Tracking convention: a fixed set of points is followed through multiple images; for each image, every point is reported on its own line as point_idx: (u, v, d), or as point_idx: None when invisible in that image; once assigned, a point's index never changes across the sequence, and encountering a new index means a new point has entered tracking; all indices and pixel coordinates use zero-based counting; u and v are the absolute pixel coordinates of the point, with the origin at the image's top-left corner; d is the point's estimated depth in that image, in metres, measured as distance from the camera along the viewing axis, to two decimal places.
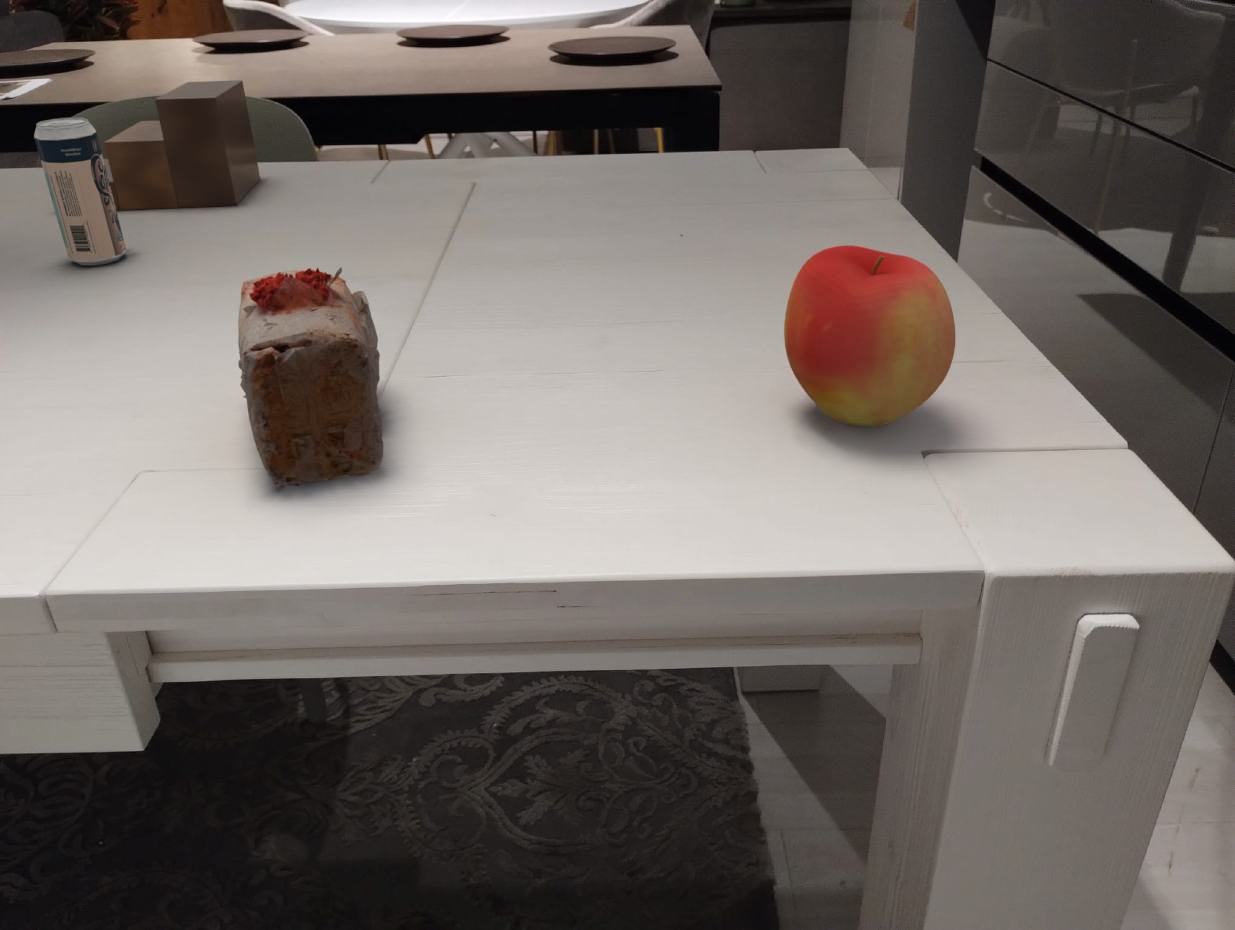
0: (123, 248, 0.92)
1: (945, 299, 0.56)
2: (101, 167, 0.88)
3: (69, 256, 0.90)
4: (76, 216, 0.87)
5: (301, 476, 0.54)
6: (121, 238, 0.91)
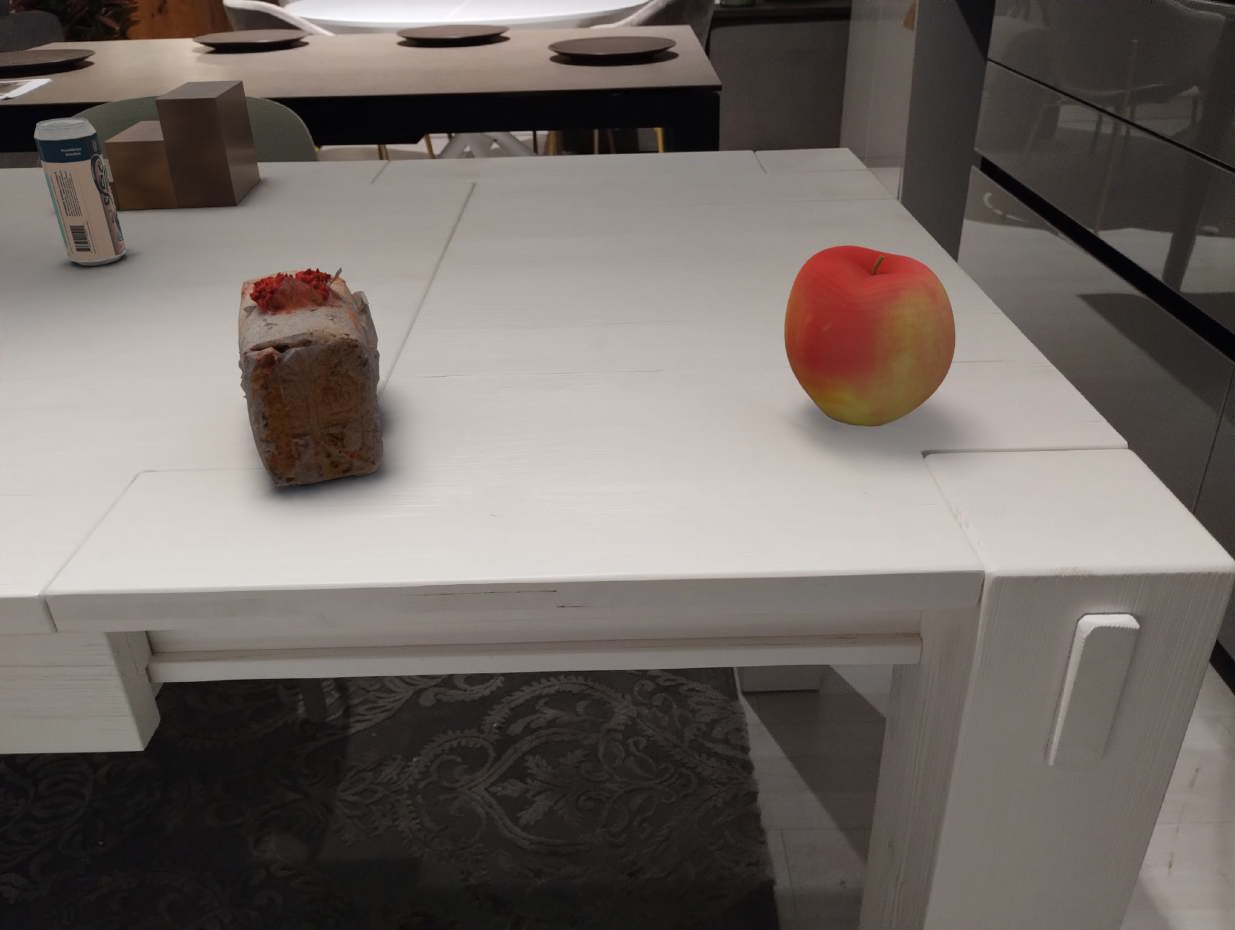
0: (123, 248, 0.92)
1: (945, 299, 0.56)
2: (101, 167, 0.88)
3: (69, 256, 0.90)
4: (76, 216, 0.87)
5: (301, 476, 0.54)
6: (121, 238, 0.91)
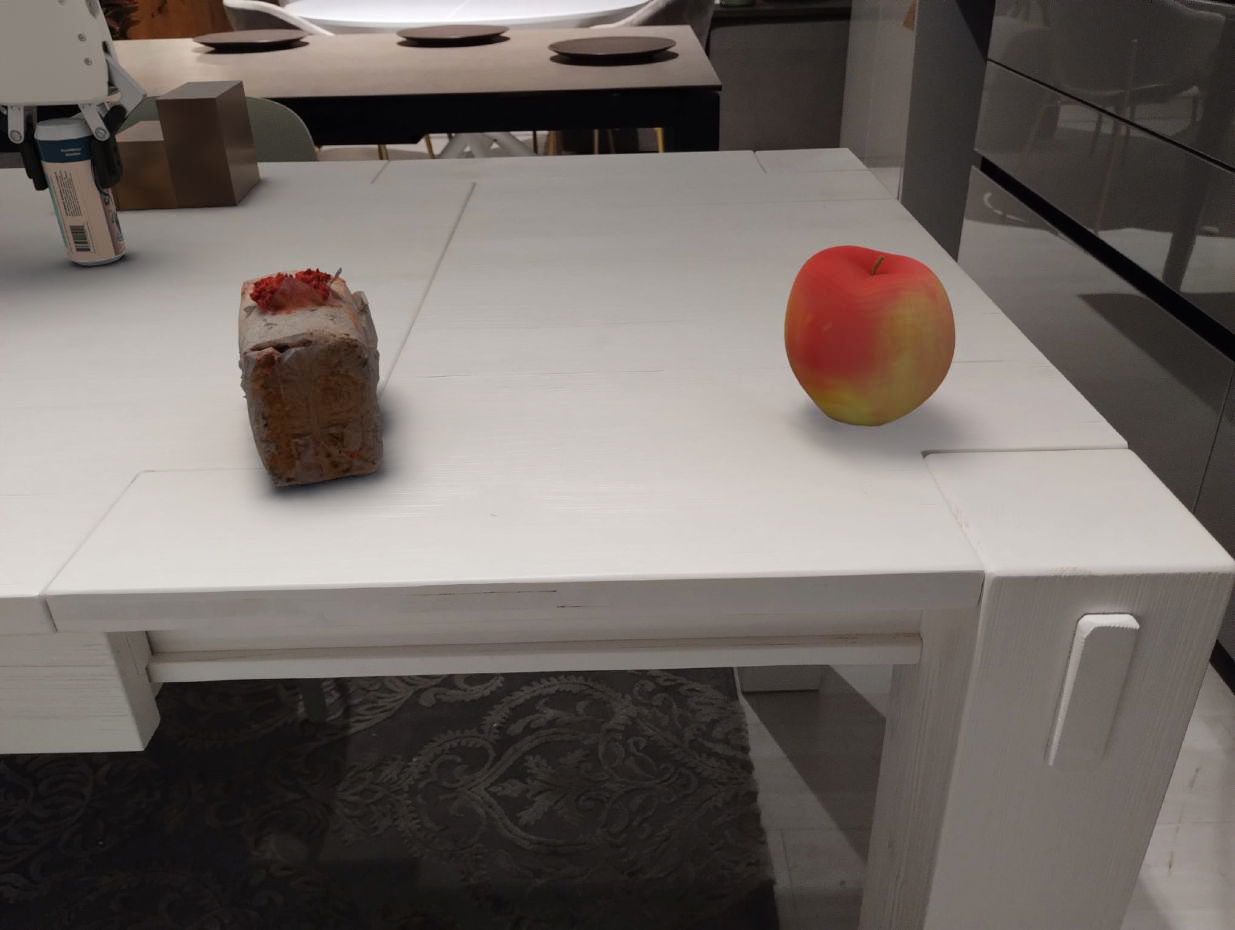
0: (123, 248, 0.92)
1: (945, 299, 0.56)
2: None
3: (69, 256, 0.90)
4: (76, 216, 0.87)
5: (301, 476, 0.54)
6: (121, 238, 0.91)
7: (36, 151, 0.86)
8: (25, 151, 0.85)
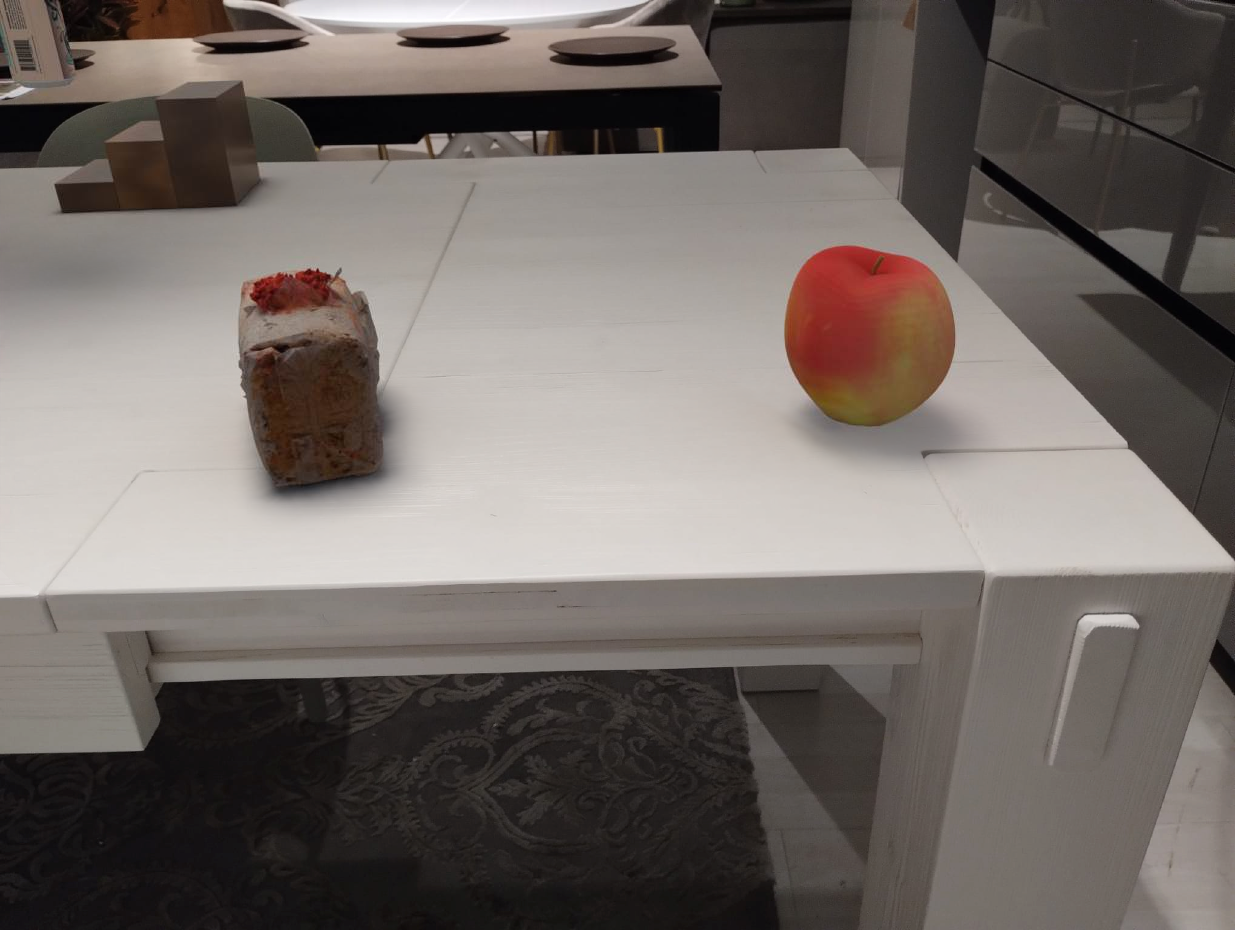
0: (73, 73, 0.85)
1: (945, 299, 0.56)
2: None
3: (13, 77, 0.83)
4: (20, 29, 0.81)
5: (301, 476, 0.54)
6: (71, 62, 0.85)
7: None
8: None
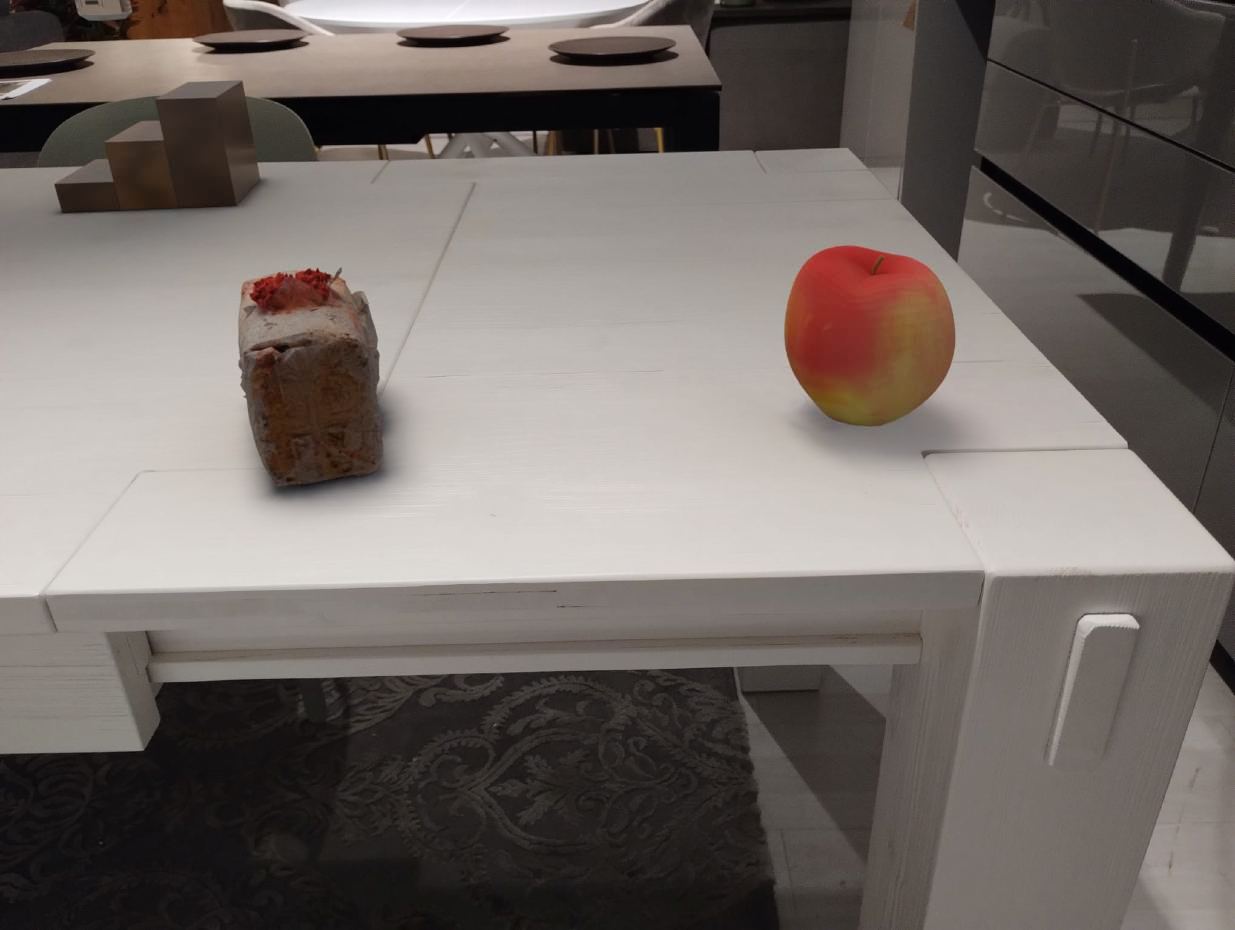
0: (129, 8, 0.98)
1: (945, 299, 0.56)
2: None
3: (79, 11, 0.97)
4: None
5: (301, 476, 0.54)
6: None
7: None
8: None
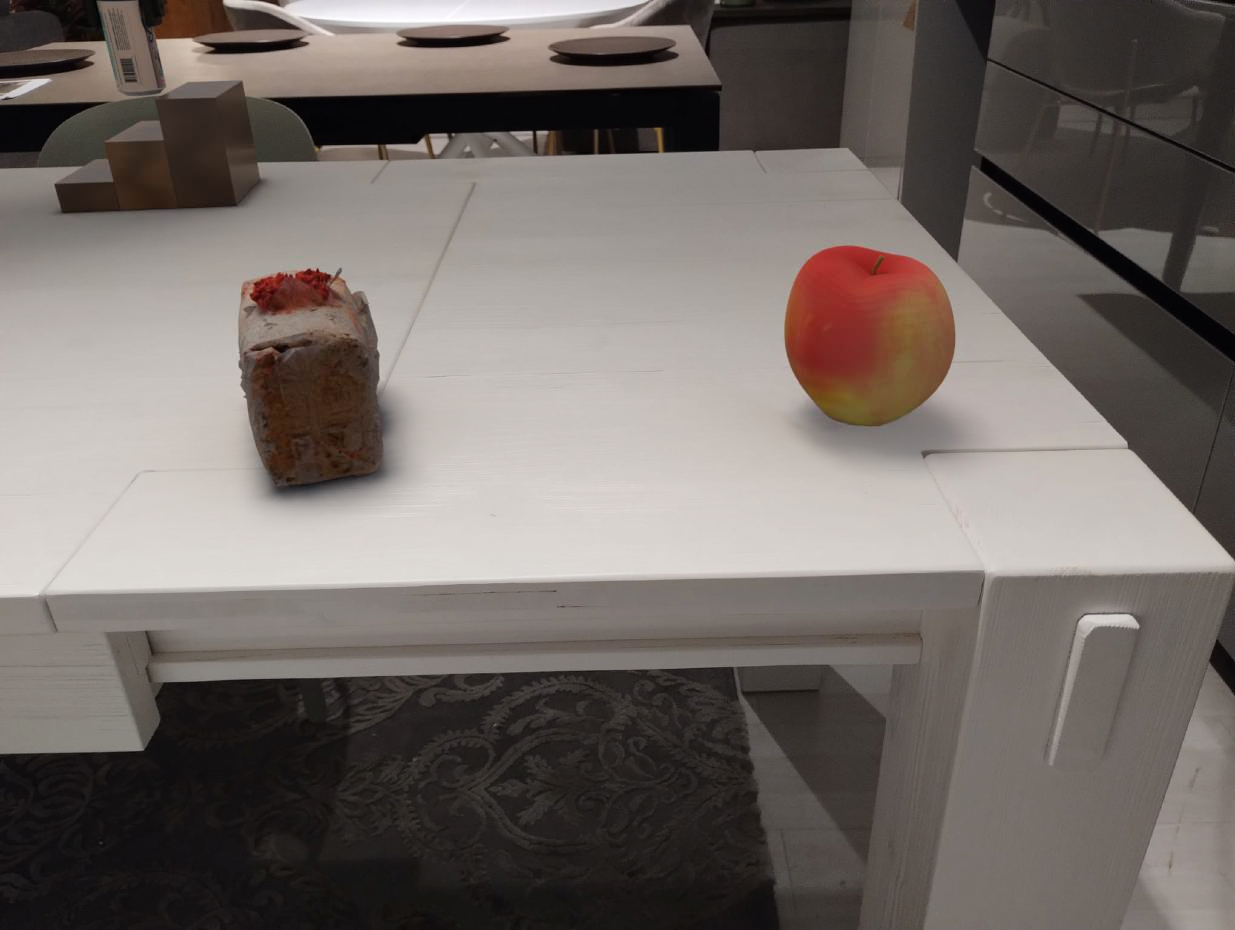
0: (164, 83, 1.07)
1: (945, 299, 0.56)
2: None
3: (118, 88, 1.06)
4: (125, 50, 1.03)
5: (301, 476, 0.54)
6: (162, 74, 1.07)
7: None
8: None
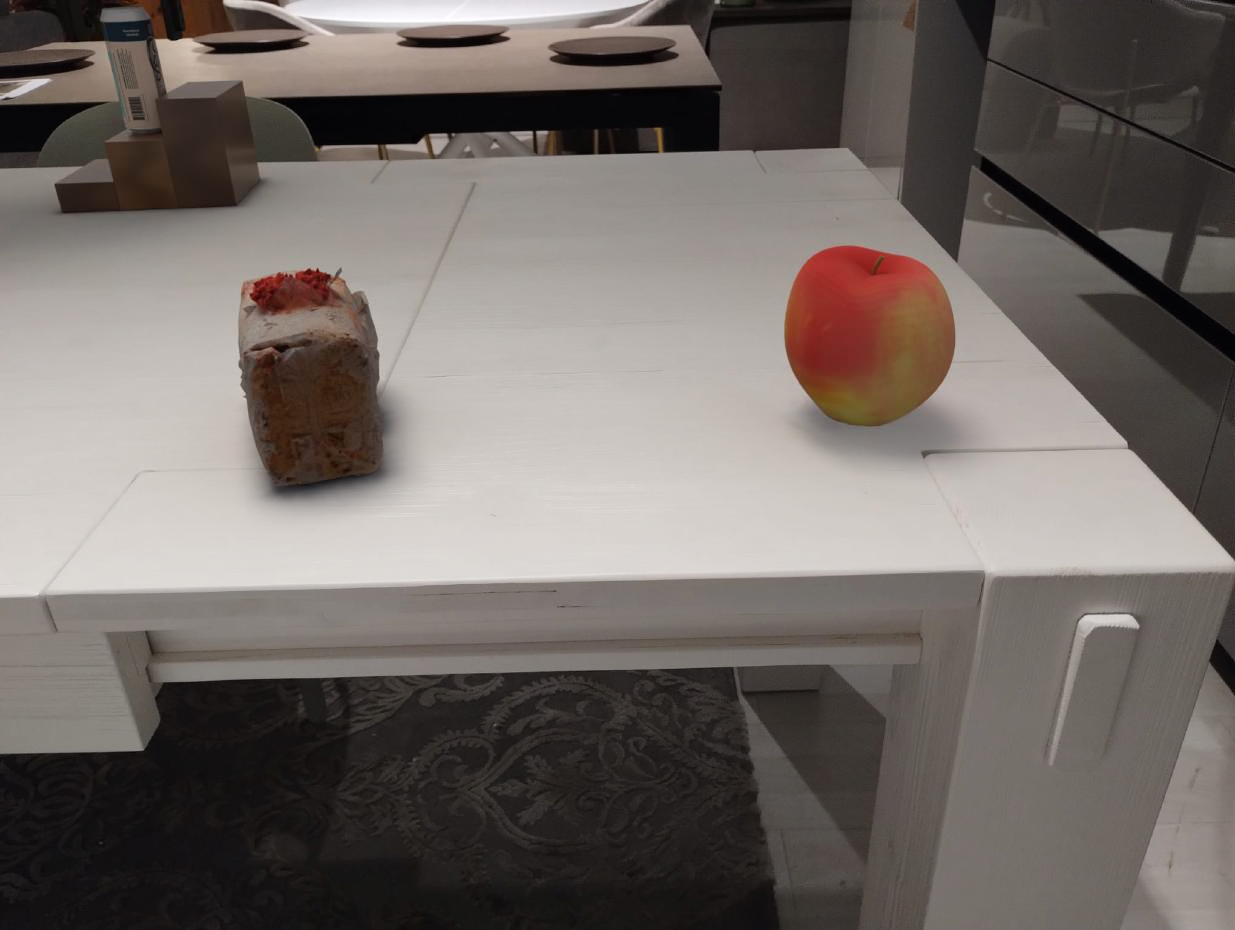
0: None
1: (945, 299, 0.56)
2: (154, 48, 1.05)
3: (126, 125, 1.08)
4: (134, 89, 1.05)
5: (301, 476, 0.54)
6: None
7: (71, 7, 1.02)
8: (62, 6, 1.01)
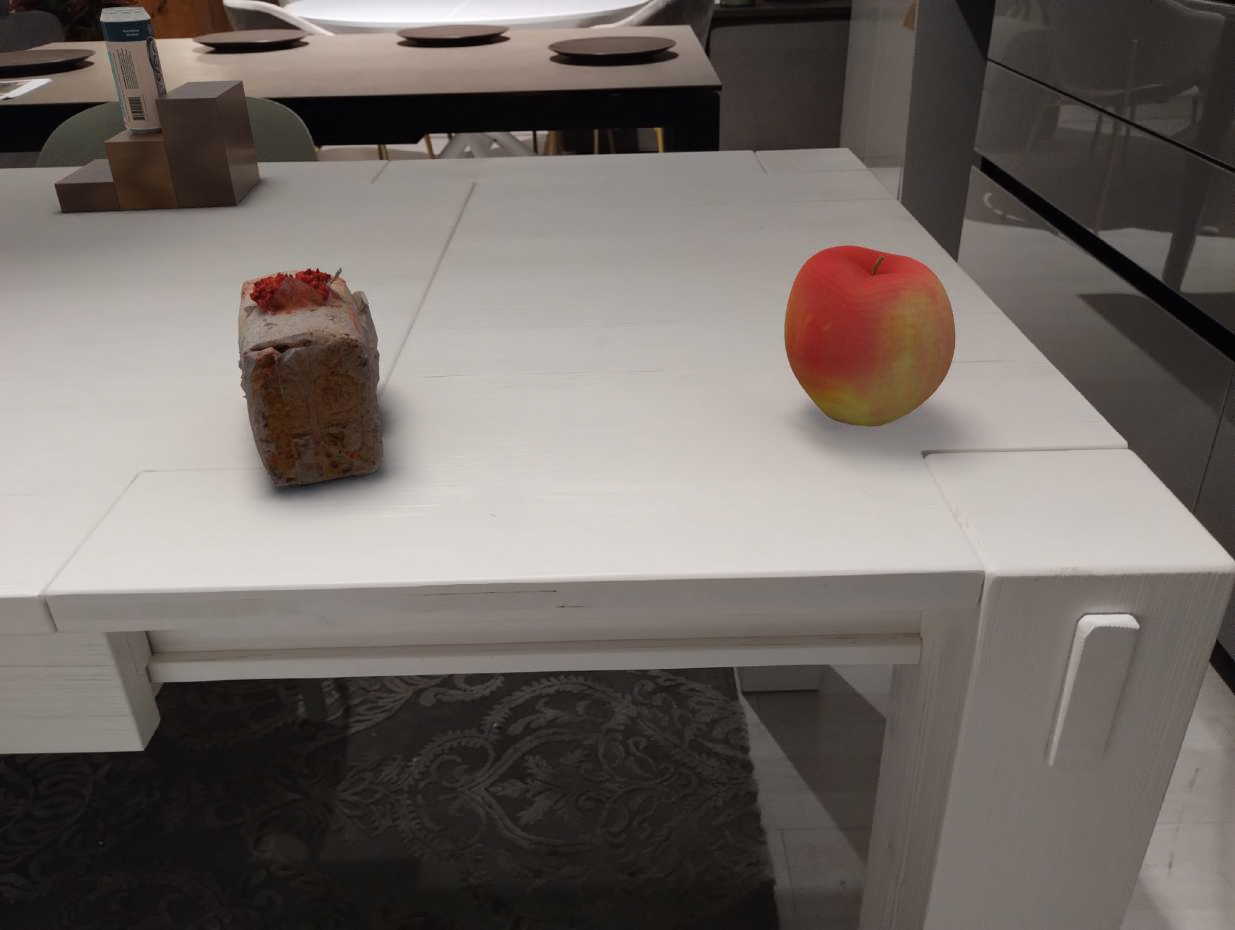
0: None
1: (945, 299, 0.56)
2: (154, 48, 1.05)
3: (126, 125, 1.08)
4: (134, 89, 1.05)
5: (301, 476, 0.54)
6: None
7: None
8: None
